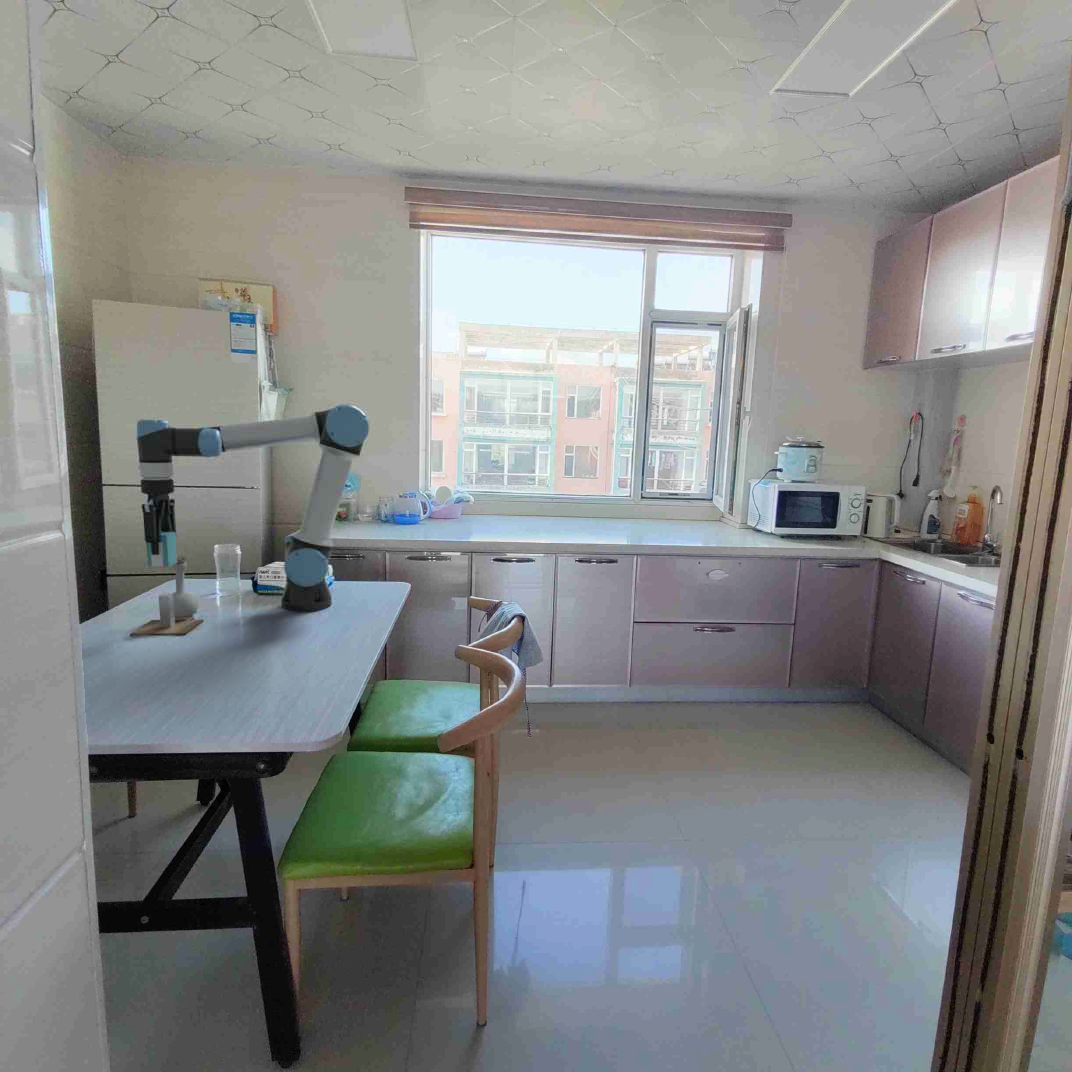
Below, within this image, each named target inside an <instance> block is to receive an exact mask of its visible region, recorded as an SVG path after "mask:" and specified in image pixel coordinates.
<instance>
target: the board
mask: <svg viewBox="0 0 1072 1072" xmlns="http://www.w3.org/2000/svg"><path fill="white" fill-rule="evenodd" d="M204 622H205V620H204V619H199V618H198V619H186V620H175V625H174V626H173V627H171V628H161V622H160V619H151V620H149V621H147V622H146V623H145V624H143V625H141V626H139V627H138V628H137V629H135V630H133V631H132V632H130V633H129V636H130V637H132V636H133V637H136V636H137V637H138V636H139V637H142V636H145V637H146V636H147V637H151V636H154V637H155V636H159V637H160V636H187V635H188V634H190V633H191V632H192V631H193V630H194V629H196V628H197V627H199V626H200V625H201V624H202V623H204Z"/></svg>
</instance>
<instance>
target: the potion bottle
mask: <svg viewBox="0 0 1072 1072" xmlns="http://www.w3.org/2000/svg"><path fill="white" fill-rule="evenodd" d="M185 558H186V556H184V555H179V556H177V563H176V564H173V565H171V566H172V569H173V571H174V572H175V592H173V593H171V594H173V601H174V615H175V620H192V619H195V614H197V613H198V608H199V604H198V601H197V598H196V597H195V595H194V594H193V593H192V592H190V591H189V592H188V591H185V587H186V586H185V571H186V570H187V568H188V563H187V562H185V560H186V559H185Z"/></svg>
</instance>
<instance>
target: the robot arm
mask: <svg viewBox="0 0 1072 1072" xmlns="http://www.w3.org/2000/svg"><path fill="white" fill-rule="evenodd" d="M369 432H370V424H369V420H368V417H367V415H366V414H365V413H364V412H363V411H362V410H361V409H360V408H359V407H357V406H355V405H352V404H348V403H344V404H343V403H342V404H339V405H336V406H335V407H332V408H330V409H325V410H322V411H313V412H312V413H311V415H308V416H299V417H290V418H282V419H281V418H280V419H272V420H264V421H255V422H254V421H253V422H246V423H245V422H244V423H237V424H227V425H219V426H209V427H198V428H193V427H192V428H191V427H190V428H188V427H186V428H182V427H181V428H180V427H179V428H178V427H172V426H171V425H170V421H169V420H167V419H163V420H162V419H139V420H138V421H137V422H136V441H137V452H138V462H139V463H138V464H139V465H138V467H137V468H138V469H139V475H140V478H142V479H141V480H140V491H141V493H142V494H144V495H147V501H146V503H143V504H141V510H142V515H143V516H142V517H143V529H144V531H143V533H144V534H143V535H144V541H145V543H150V548H151V561H152V566H164V559H163V545H162V542H160V537H161V532H175V534H176V535H177V524H176V513H175V503H176V501H175V499H174V498H170V496H169V494H173V493H175V485H174V483H175V482H174V480H173V477H174V467H173V457H197V458H198V457H201V458H202V457H204V458H212V457H214V458H216V457H220V456H221V455H222V453H227V452H234V451H243V450H252V449H259V448H260V449H261V448H268V447H276V446H283V445H284V446H285V445H295V444H302V443H310V442H316V443H317V444H318V445H319V447H320V449H321V451H322V453H321V457H320V459H319V464H318V467H317V470H316V474H315V477H314V481H313V484H312V487H311V491H310V494H309V498H308V502H307V505H306V509H305V512H304V514H303V519H302V523H301V526H300V529H299V530H298V531H297V532H295V533H292V534H289V535H286V536H285V538H284V543H283V544H284V545H283V546H284V565H283V567H284V568H283V569H284V573H285V579H286V580H285V581H286V583H285V587H284V590H283V594H282V596H281V600H280V601H281V602H280V603H281V608H282V609H283V610H285V611H289V612H299V613H301V612H315V611H320V610H324V609H326V608H329V607H330V606H332V604H333V599H332V593H331V592H330V588H329V587H328V584H327V581H326V576H327V574H328V572H329V566H330V565H329V561H330V557H331V555H332V550H333V547H334V542H333V541H332V540H331V534H332V532H333V529H334V525H335V521H336V519H337V515H338V511H339V508H340V506H341V505H340V504H341V501H342V498H343V494H344V491H345V487H346V485H347V481H348V480H347V479H348V476H349V473H350V472H351V471H350V470H351V467H352V463H353V461H354V460H356V459H358V458H360V456H361V455H360V454H361V453H362V452H361V451H362V449H363V445H364V442H365V440H366V439H367V437H368V435H369Z"/></svg>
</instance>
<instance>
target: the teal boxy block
mask: <svg viewBox="0 0 1072 1072" xmlns="http://www.w3.org/2000/svg"><path fill="white" fill-rule="evenodd" d="M160 542H162V545H163V559H164V566H152V561H151V548H150V543H146V542H145V543H146V544H145V545H146V556H147V557H146V558H147V567H152V568H154V567H158V568H162V567H163V568H164V567H166V568H167V567H168V568H169V567H171V566H172V565H173V564H176V563H177V557H178V553H177V552H178V551H177V533H176V534H175V532H161V537H160Z"/></svg>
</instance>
